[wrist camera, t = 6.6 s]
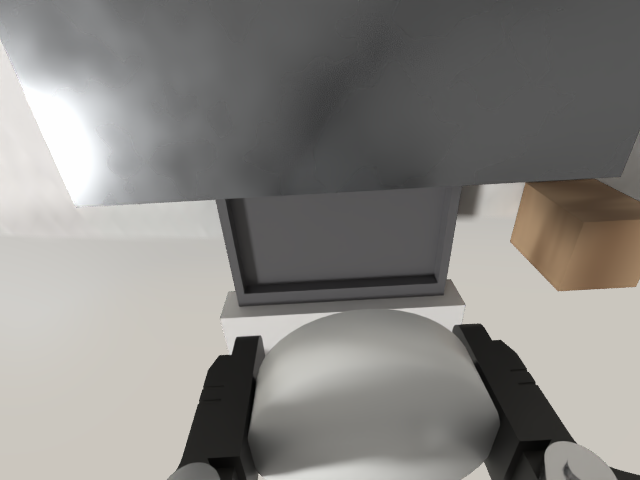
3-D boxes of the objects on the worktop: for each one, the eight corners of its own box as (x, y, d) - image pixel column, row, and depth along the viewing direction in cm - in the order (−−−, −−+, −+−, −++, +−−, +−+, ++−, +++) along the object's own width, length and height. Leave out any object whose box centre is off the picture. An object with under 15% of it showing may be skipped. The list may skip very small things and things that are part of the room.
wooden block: (594, 178, 20) (671, 217, 16) (572, 238, 22) (635, 286, 18) (525, 182, 20) (583, 222, 16) (510, 241, 22) (558, 291, 18)
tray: (488, 58, 17) (547, 66, 13) (442, 329, 26) (467, 385, 22) (178, 76, 17) (135, 90, 13) (239, 340, 26) (226, 398, 22)
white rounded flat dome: (493, 301, 8) (529, 356, 7) (454, 443, 11) (474, 500, 10) (239, 315, 8) (225, 372, 7) (269, 453, 11) (264, 512, 10)
